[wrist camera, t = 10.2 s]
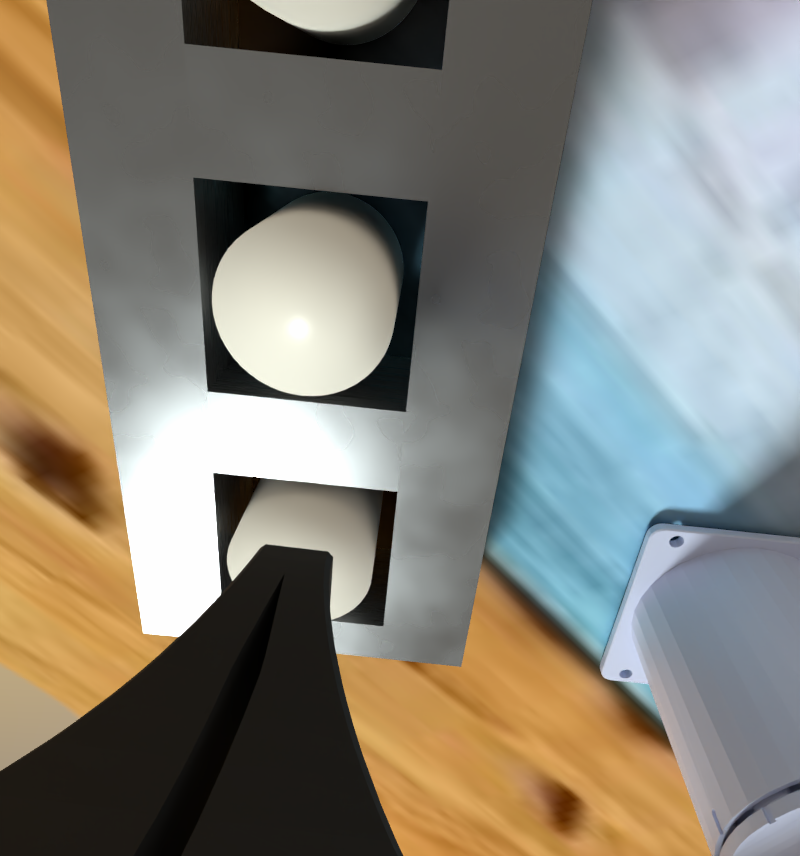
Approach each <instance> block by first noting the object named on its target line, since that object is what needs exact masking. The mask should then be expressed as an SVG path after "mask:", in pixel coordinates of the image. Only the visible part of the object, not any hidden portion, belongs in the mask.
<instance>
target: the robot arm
mask: <svg viewBox="0 0 800 856" xmlns="http://www.w3.org/2000/svg"><path fill="white" fill-rule="evenodd" d="M675 536H680V537H679V538H678V539H676V540H673V541H670V539H671V538H673V537H675ZM332 569H333V556H332V555H331V554H330V553H329V552H328V551H320V550H311V549H303V548H294V547H286V546H277V545H269V544H265V545H264V546H262V547H261V548H260V549H259V550H258V551H257V553H256V554H255V555H254V556H253V558H252V559H251V560H250V561H249V562H248V564H247V565H246V566H245V567H244V568H243V570H242V571H241V572H240V573H239V574H238V575H237V577H236V578H235V579H234V580H233V581H232V582H231V583H230V585H229V586H228V587H227V588H226V589H225V590H224V591H223V592H222V593H221V594H220V596H219V597H218V598H217V599H216V600H215V601H214V602H213V603H212V604H211V605H210V606H209V607H208V608H207V609H206V610H205V611H204V612H203V613H202V614H201V616H200V617H199V618H198V619H197V620H196V621H195V622H194V623H193V624H192V625H191V626H189V627H188V628H187V629H186V630H185V631H184V632H183V633H182V634H181V635H180V636H179V637H178V638H177V639H176V640H175V641H174V642H173V643H172V644H170V645H169V646H168V647H167V648H166V649H165V650H164V651H163V652H162V653H161V654H160V655H159V656H158V657H156V658H155V659H154V660H153V661H152V662H151V663H150V664H148V665H147V666H146V667H145V668H144V669H143V670H141V671H140V672H139V673H138V674H137V675H135V676H134V677H133V678H132V679H131V680H129V681H128V682H127V683H126V684H124V685H123V686H122V687H121V688H119V689H118V690H117V691H116V692H114V693H113V694H112V695H111V696H109V697H108V698H107V699H105V700H104V701H103V702H101V703H100V704H99V705H97V706H96V707H95V708H93V709H92V710H91V711H89V712H88V713H87V714H85V715H84V716H82V717H81V718H80V719H78V720H77V721H76V722H74V723H73V724H72V725H70V726H69V727H67V728H66V729H64V730H63V731H62V732H60V733H59V734H57V735H56V736H54V737H53V738H52V739H50V740H48V741H47V742H45V743H44V744H42V745H41V746H39V747H38V748H36V749H34V750H33V751H31V752H30V753H28V754H27V755H25V756H23V757H22V758H21V759H19V760H17V761H16V762H14V763H12V764H11V765H9V766H8V767H6V768H5V769H3V770H1V771H0V856H403V854H402V852H401V850H400V848H399V846H398V844H397V841H396V839H395V837H394V834H393V832H392V830H391V827H390V825H389V823H388V820H387V818H386V815H385V813H384V811H383V808H382V806H381V803H380V801H379V798H378V795H377V793H376V790H375V787H374V784H373V782H372V779H371V776H370V774H369V771H368V768H367V766H366V763H365V760H364V757H363V755H362V752H361V748H360V745H359V742H358V739H357V736H356V732H355V729H354V726H353V723H352V719H351V715H350V712H349V708H348V705H347V701H346V697H345V693H344V689H343V684H342V680H341V675H340V671H339V666H338V661H337V656H336V650H335V644H334V637H333V629H332V621H331V613H330V600H331V585H332ZM600 670H601V674H602V675H603V677H604V678H606V679H609V680H615V681H625V682H634V683H644V684H649V686H650V689H651V692H652V694H653V697H654V700H655V702H656V705H657V708H658V711H659V713H660V716H661V719H662V721H663V724H664V727H665V730H666V732H667V735H668V738H669V741H670V743H671V746H672V749H673V751H674V754H675V757H676V760H677V762H678V765H679V768H680V770H681V773H682V776H683V779H684V781H685V784H686V787H687V789H688V792H689V795H690V798H691V800H692V803H693V806H694V808H695V811H696V814H697V817H698V819H699V822H700V825H701V828H702V830H703V833H704V836H705V838H706V841H707V844H708V847H709V849H710V852H711V855H712V856H800V538H798V537H788V536H779V535H769V534H760V533H750V532H741V531H731V530H722V529H712V528H702V527H693V526H683V525H674V524H664V523H663V524H656V525H654V526H652V527H651V528H649V530H648V531H647V533H646V536H645V538H644V541H643V544H642V547H641V550H640V553H639V555H638V558H637V561H636V564H635V567H634V570H633V572H632V575H631V578H630V581H629V584H628V587H627V589H626V592H625V595H624V598H623V601H622V604H621V607H620V609H619V612H618V615H617V618H616V621H615V624H614V626H613V629H612V632H611V635H610V638H609V641H608V643H607V646H606V649H605V652H604V655H603V658H602V660H601V663H600Z"/></svg>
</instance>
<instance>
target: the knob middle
mask: <svg viewBox="0 0 800 856" xmlns="http://www.w3.org/2000/svg"><path fill="white" fill-rule="evenodd" d="M403 276H404V264H403V256H402V251H401V247H400V244H399V242H398V239H397V237H396V235H395V233H394V231H393V229H392V228H391V226H390V225H389V224H388V222H387V221H386V220H385V218H384V217H383V216H382V215H381V214H380V213H379V212H378V211H376V210H375V209H374V208H373V207H372V206H370V205H369V204H367V203H366V202H364V201H362V200H360V199H358V198H356V197H353V196H350V195H347V194H344V193H338V192H316V193H312V194H308V195H304V196H302V197H300V198H297V199H295V200H294V201H292V202H290V203H289V204H287V205H286V206H284V207H283V208H281V209H280V210H278V211H277V212H275V213H273V214H272V215H270V216H269V217H267V218H266V219H264V220H263V221H261V222H260V223H258V224H257V225H255V226H254V227H252V228H251V229H249V230H248V231H246V232H245V233H244V234H242V235H241V236H240V237H239V238H238V239H236V240H235V242H234V243H233V244H232V245H231V246H230V247H229V248H228V250H227V251H226V253H225V254H224V256H223V257H222V259H221V261H220V263H219V266H218V268H217V271H216V274H215V277H214V282H213V289H212V308H213V315H214V319H215V323H216V327H217V329H218V332H219V334H220V337H221V339H222V341H223V343H224V344H225V346H226V348H227V350H228V351H229V352H230V354H231V355H232V357H233V358H234V359H235V360H236V361H237V362H238V364H239V365H240V366H241V367H242V368H243V369H245V370H246V371H247V372H248V373H249V374H250V375H252V376H253V377H255V378H256V379H257V380H259V381H260V382H262V383H264V384H266V385H268V386H270V387H272V388H274V389H277V390H279V391H283V392H286V393H290V394H295V395H301V396H322V395H328V394H333V393H337V392H340V391H343V390H345V389H348V388H350V387H352V386H354V385H355V384H357V383H358V382H360V381H361V380H363V379H364V378H365V377H367V376H368V375H369V374H370V373H371V372H372V371H373V370H374V369H375V368H376V366H377V365H378V364H379V363H380V361H381V360H382V358H383V356H384V355H385V353H386V351H387V349H388V346H389V344H390V341H391V338H392V334H393V330H394V324H395V319H396V314H397V309H398V303H399V298H400V293H401V288H402V282H403Z"/></svg>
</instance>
